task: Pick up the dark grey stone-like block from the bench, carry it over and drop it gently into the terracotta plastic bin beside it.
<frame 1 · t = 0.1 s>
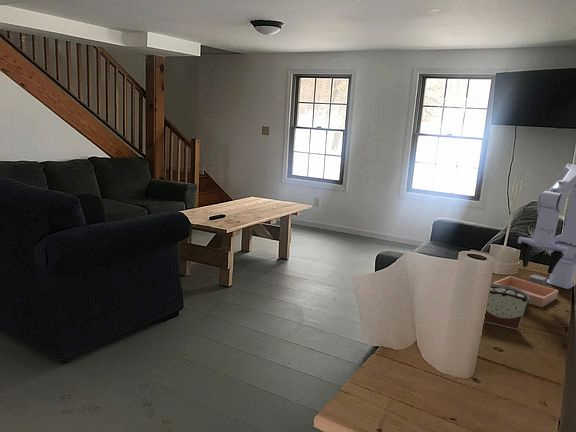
hand: (537, 269, 153), 10 cm above the table, tool pointing down, fingers open, 7 cm apart
grey block: (535, 289, 165), on the table
terracotta bin: (523, 295, 158), on the table
food container: (499, 322, 133), on the table
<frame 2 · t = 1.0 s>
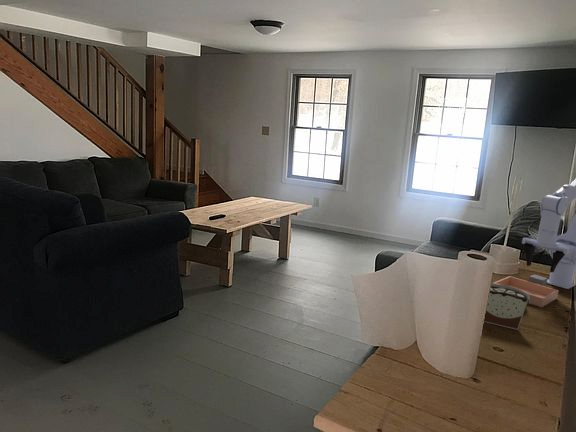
hand: (540, 268, 164), 8 cm above the table, tool pointing down, fingers open, 7 cm apart
nothing on the table moved.
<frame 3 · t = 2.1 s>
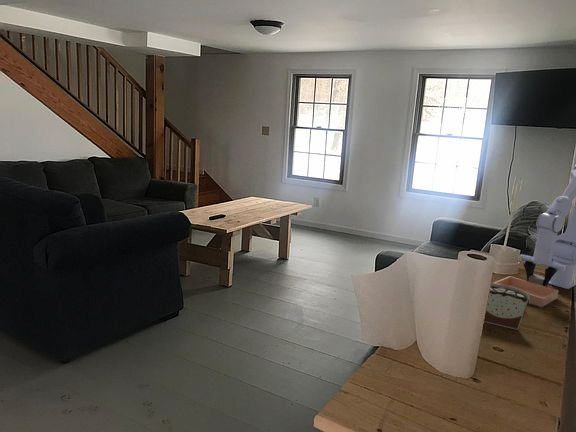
hand: (536, 285, 165), 1 cm above the table, tool pointing down, fingers closed on grey block, 4 cm apart
grey block: (535, 289, 165), on the table, touching gripper
everything else where it was.
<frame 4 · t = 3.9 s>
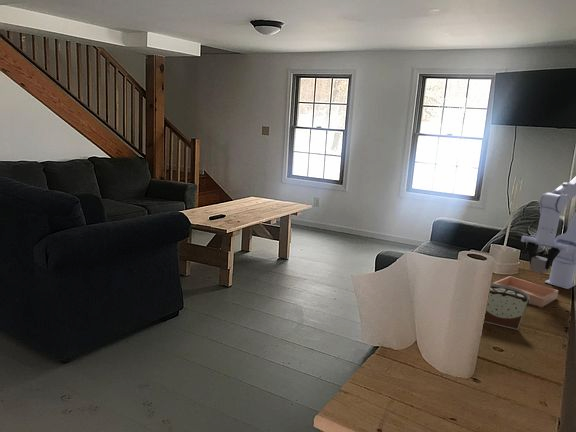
hand: (539, 266, 163), 8 cm above the table, tool pointing down, fingers closed on grey block, 4 cm apart
grey block: (538, 270, 163), point 7 cm above the table, touching gripper
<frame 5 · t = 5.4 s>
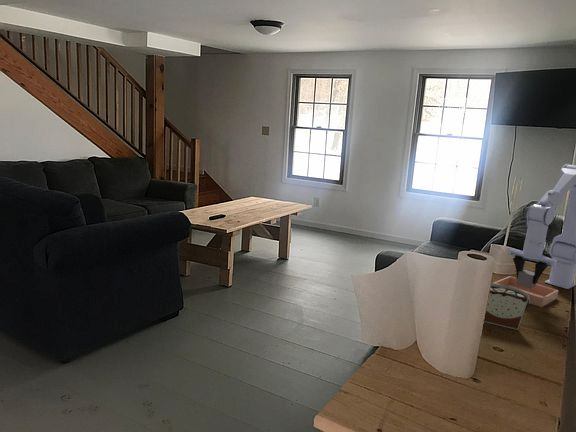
hand: (526, 280, 157), 5 cm above the table, tool pointing down, fingers closed on grey block, 4 cm apart
grey block: (525, 285, 157), point 3 cm above the table, touching gripper
when the fingers open (4 cm above the table, at t = 6.1 s): grey block drops 2 cm, resting on terracotta bin.
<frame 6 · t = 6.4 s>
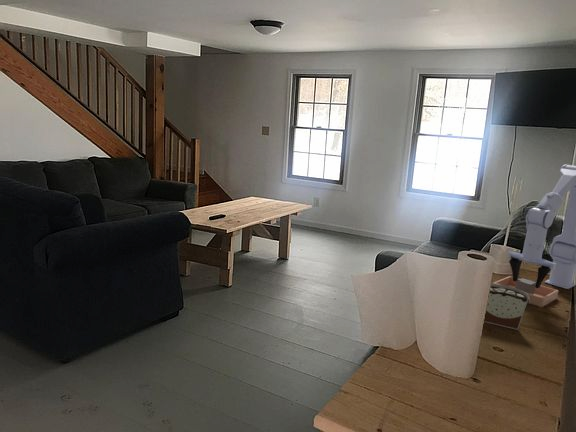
hand: (526, 284, 157), 4 cm above the table, tool pointing down, fingers open, 7 cm apart
grey block: (524, 294, 158), resting on terracotta bin
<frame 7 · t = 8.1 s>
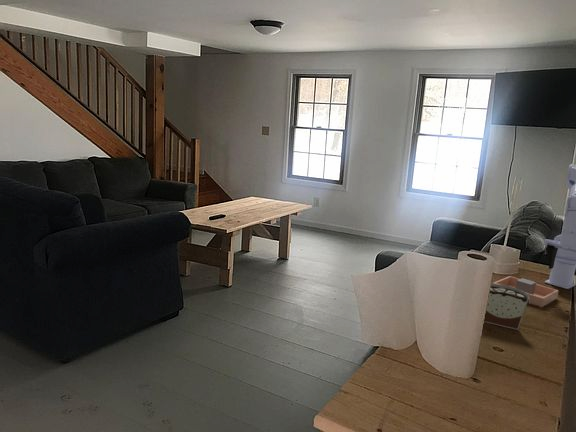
hand: (563, 271, 156), 9 cm above the table, tool pointing down, fingers open, 7 cm apart
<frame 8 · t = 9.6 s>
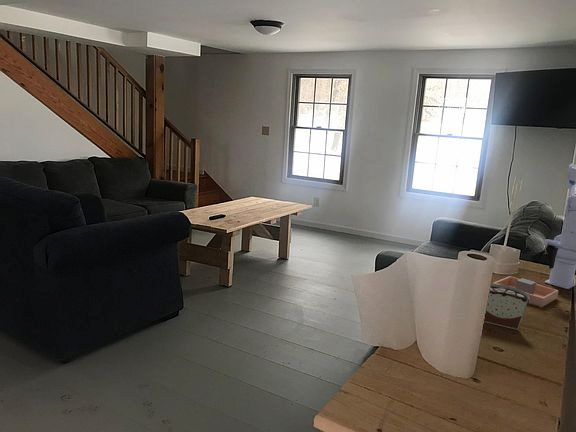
hand: (563, 271, 156), 9 cm above the table, tool pointing down, fingers open, 7 cm apart
at the end: grey block inside the target area on the terracotta bin (0.1 cm from its centre), point 0.3 cm above the terracotta bin's base; grey block touching terracotta bin; the gripper is holding nothing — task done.
